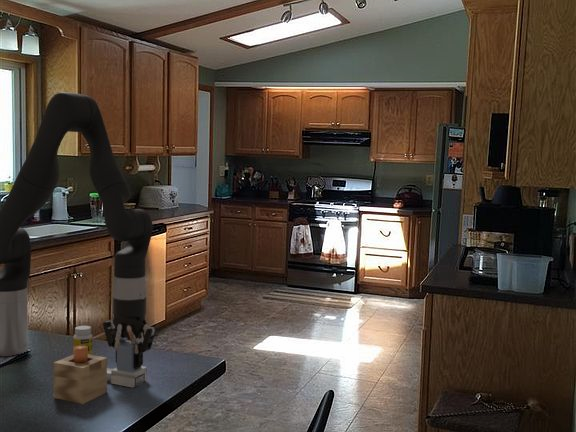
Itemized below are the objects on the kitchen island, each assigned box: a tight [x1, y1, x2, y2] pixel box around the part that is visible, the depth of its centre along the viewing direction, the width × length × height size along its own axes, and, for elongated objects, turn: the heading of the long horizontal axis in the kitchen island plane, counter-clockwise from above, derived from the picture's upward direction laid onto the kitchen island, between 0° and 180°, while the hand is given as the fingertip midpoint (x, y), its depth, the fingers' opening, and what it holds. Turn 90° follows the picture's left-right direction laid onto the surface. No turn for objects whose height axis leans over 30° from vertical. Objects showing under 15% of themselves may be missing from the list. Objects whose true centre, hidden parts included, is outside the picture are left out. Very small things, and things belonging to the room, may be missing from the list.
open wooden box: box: [53, 354, 108, 405], centre depth 145 cm, size 8×8×8 cm
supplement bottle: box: [72, 325, 93, 355], centre depth 170 cm, size 5×5×8 cm
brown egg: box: [74, 346, 88, 363], centre depth 145 cm, size 3×3×3 cm
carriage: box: [110, 339, 148, 388], centre depth 153 cm, size 6×6×9 cm
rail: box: [107, 367, 145, 388], centre depth 156 cm, size 18×3×2 cm, turn 68°
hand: (129, 366), depth 154 cm, fingers closed on carriage, 4 cm apart
